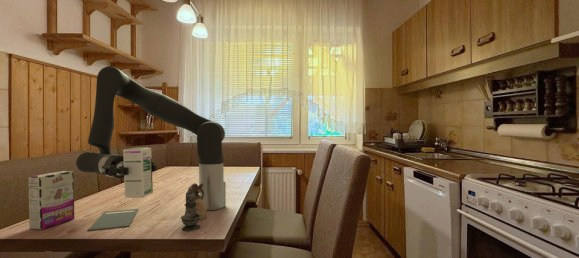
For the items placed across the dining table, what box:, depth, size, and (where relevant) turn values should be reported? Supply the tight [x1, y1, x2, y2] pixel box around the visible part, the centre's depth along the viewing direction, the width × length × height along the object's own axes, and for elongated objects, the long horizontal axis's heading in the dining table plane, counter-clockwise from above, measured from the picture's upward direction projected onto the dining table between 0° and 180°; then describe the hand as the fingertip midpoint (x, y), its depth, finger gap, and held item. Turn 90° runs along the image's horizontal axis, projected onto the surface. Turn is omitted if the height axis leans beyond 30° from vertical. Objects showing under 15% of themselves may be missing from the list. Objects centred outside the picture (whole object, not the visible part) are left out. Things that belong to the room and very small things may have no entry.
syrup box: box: [122, 146, 154, 199], centre depth 88 cm, size 6×6×14 cm
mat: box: [87, 208, 139, 232], centre depth 98 cm, size 20×11×1 cm, turn 20°
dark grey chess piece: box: [180, 189, 201, 232], centre depth 90 cm, size 6×6×12 cm
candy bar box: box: [27, 170, 75, 231], centre depth 94 cm, size 11×5×16 cm, turn 168°
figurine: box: [184, 183, 207, 222], centre depth 99 cm, size 7×7×12 cm
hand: (141, 169), depth 87 cm, fingers closed on syrup box, 8 cm apart
